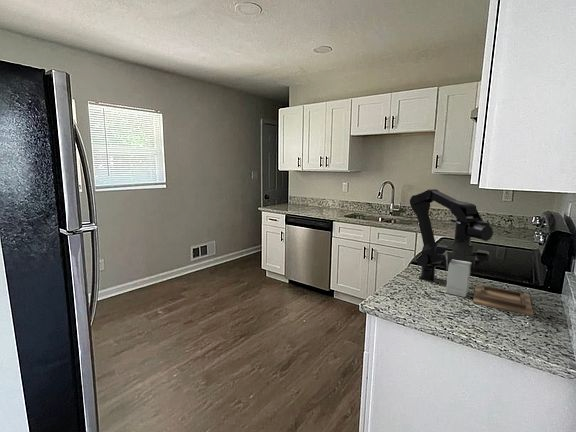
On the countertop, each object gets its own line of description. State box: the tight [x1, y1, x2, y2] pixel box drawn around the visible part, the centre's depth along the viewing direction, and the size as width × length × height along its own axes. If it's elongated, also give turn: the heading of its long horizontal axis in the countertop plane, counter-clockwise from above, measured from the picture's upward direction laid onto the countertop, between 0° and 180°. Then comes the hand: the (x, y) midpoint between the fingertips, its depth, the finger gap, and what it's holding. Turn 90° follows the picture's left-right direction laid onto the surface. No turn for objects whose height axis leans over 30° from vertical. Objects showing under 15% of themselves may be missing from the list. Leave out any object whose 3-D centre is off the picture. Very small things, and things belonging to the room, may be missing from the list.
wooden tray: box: [472, 284, 534, 317], centre depth 120 cm, size 20×18×2 cm
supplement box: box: [445, 259, 472, 298], centre depth 126 cm, size 7×7×13 cm
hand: (458, 272), depth 126 cm, fingers open, 9 cm apart
